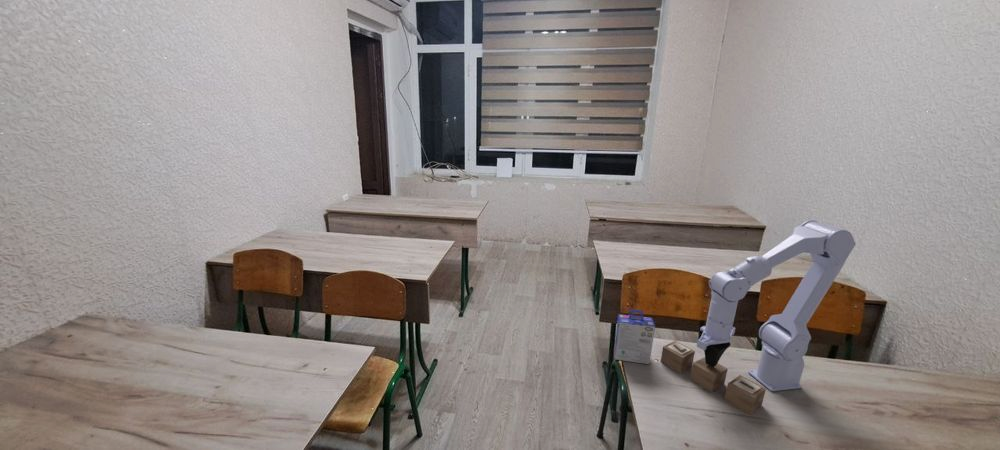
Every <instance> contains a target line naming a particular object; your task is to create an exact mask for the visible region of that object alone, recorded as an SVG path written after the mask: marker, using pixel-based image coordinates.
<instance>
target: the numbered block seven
mask: <svg viewBox="0 0 1000 450" xmlns="http://www.w3.org/2000/svg"><path fill="white" fill-rule="evenodd" d="M695 354H696V350H694V349H692V348H690V347H688V346H687V345H684V344H683V343H680V342H679V341H677V340H674V341H672V342H670V343H668V344H665V345H664V346H662V351H661V358H660V363H662V364H664V365H666V366H667V367H669V368H671V369H673V370H674V371H676V372H678V373H679V374H681V373H682V372H684V371H686V370H688V369H690V368H692V365H693V363H694V358H695Z"/></svg>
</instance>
